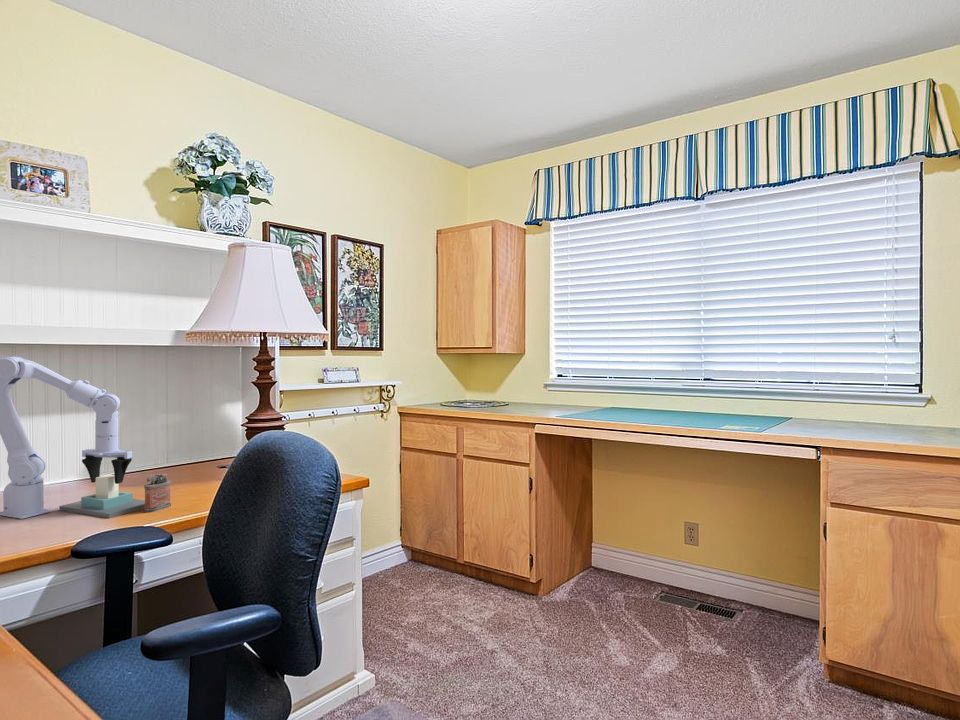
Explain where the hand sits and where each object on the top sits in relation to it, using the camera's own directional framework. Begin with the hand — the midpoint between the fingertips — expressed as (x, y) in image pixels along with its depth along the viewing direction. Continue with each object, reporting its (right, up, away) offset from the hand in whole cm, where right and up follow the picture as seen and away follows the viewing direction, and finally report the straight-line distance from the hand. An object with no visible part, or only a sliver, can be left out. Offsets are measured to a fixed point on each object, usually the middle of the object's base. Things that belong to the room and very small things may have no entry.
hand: (107, 482), depth 173 cm
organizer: (0, -7, 0) cm, 8 cm away
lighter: (+15, -8, 0) cm, 17 cm away
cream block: (0, -6, 0) cm, 6 cm away
